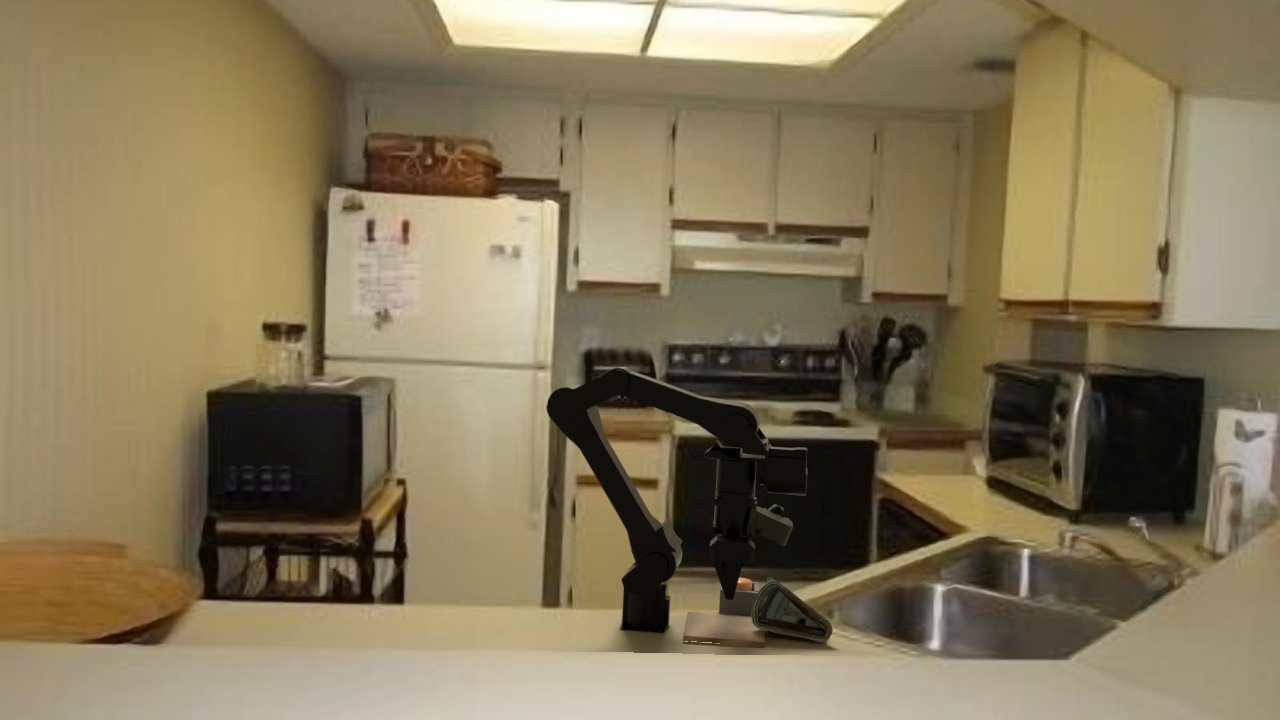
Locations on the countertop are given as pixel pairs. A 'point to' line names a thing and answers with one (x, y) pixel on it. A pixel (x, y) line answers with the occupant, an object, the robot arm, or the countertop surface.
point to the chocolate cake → (788, 614)
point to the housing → (739, 602)
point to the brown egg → (744, 584)
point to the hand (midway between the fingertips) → (729, 595)
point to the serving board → (722, 629)
